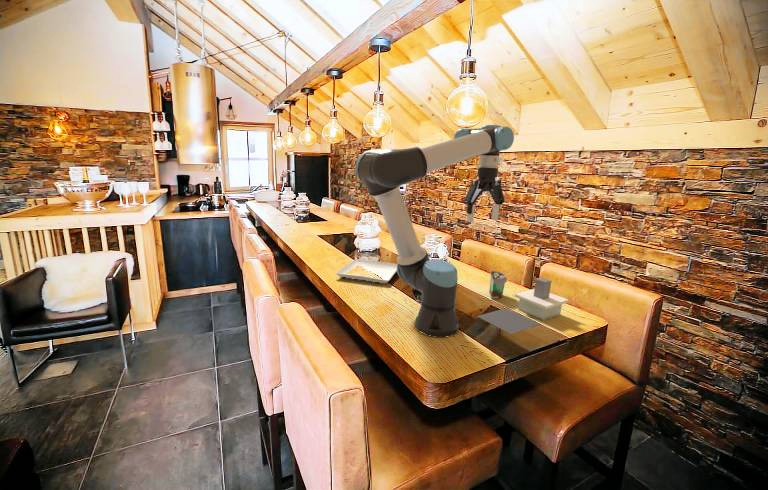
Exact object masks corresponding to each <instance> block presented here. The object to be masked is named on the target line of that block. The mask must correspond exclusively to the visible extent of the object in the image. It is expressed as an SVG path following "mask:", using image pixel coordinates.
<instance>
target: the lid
mask: <svg viewBox="0 0 768 490" xmlns="http://www.w3.org/2000/svg"><path fill="white" fill-rule="evenodd" d="M534 282H535V284H534V288H533V289H529V290H526V291H525V290H523V291H521V292H518V293H515V294H514V297H515V298H517V299H519V300H520V299H522V300H525V301H527V302H529V303H532V304H534V305H537V306H539V307H542V308H544V309H549V308H552V307H555V306H558V305H561V304H562V305H564V304H567V303H569V299H567V298H565V297H562V296H559V295H557V294H555V293H554V294H553V293H551V288H552V287H551V285H552V280H551V279H547V278H545V277H539V278H535V281H534Z"/></svg>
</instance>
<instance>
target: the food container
mask: <svg viewBox="0 0 768 490" xmlns="http://www.w3.org/2000/svg"><path fill="white" fill-rule="evenodd" d="M507 281H508V279H507V275H506V274H505V273H504V272H500V271H496V270H491V271H490V281H489V294H490V299H491V300H499V299H500V300H501V299H502V298H503V294H504V289H505V284H506V283H507Z"/></svg>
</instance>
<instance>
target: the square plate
mask: <svg viewBox="0 0 768 490" xmlns="http://www.w3.org/2000/svg"><path fill="white" fill-rule="evenodd" d="M357 265H361V266H363V268H365V269H367V270H368V271H371V272H372V273H374V274H376V275H378V276H379V277H381V278H382V279H383V280H382V279H377V278H372V277H366V276H358V275H348V274H346V273H347V272H349V271H350V270H352V269H353V268H355V267H356V266H357ZM397 265H398V263H394V262H389V261H387V262H385V261H379V260H372V259H371V260H370V259H369V260H368V259H359V258H355V259H353V260H352V261H350V262H349V263H348V264H346V265H344V266H343V267H342V268H340V269H339V270H338V271H337V272H335V274H336V276H338V277H339V278H342V277H346V278H345V279H348V278H354V279H360V280H367V281H366V282H368V281H373V282H372V283H375V282H380V283H379V284H387V283H388V282H390V280H391V279H392V278H393V276H394V275H395V274H396V273H397ZM360 280H359V281H360Z"/></svg>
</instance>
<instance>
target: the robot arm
mask: <svg viewBox="0 0 768 490" xmlns="http://www.w3.org/2000/svg"><path fill="white" fill-rule="evenodd" d="M514 140H515V135H514V131H513V129H512V128H511V127H510V126H501V125H498V124H485V125H482V126H481V127H479V128H467V127H465V128H459V129H457V130H456V131H455V133H454V136H453V139H449V140H446V141H442V142H439V143H436V144H433V145H432V144H431V145H428V146H426V147H422V148H421V147H420V146H413V147H410V148H399V149H397V148H393V149H392V148H387V149H379V148H372V149H369V150H366V151H364V152H363V153H361V154H360V155H359V157H358V158H357V160H356V162H355V167H354V169H355V175H356V176H357V179H358V180H359V181H360V182H361V183H362V184H364V185H365V187H366V190H367V192H368V194H369V196H370V197H372V198H374V199H375V201H376V202H377V204H378V207H379V210H380V212H381V215H382V217H383V220H384V222H385V225H386V227H387V230H388V232H389V234H390V237H391V239H392V240H391V241H392V242H393V244H394V247H395V249H396V252H397V254H398V256H397V257H396V264H398V265H397V272H396V273H397V275H398V277H399V278H400V280H401V281H402V282H403V283H404V284H406V285H408V286H410V287H412V288H413V289H415V290H416V291H418V292H420V293H421V304H420V307H419V311H418V313H417V315H416V317H415V321H414V327H415V326H416V327H415V329H416V328H417V329H418V330H419V331H421V332H423V333H425V334H427V335H426V336H428V335H431V336H430V337H432V336H436V337H435V338H447V337H446V336H449V337H452V336H455V335H456V334H457V333H458V331H459V321H458V317H457V314H456V313H457V312H456V299H457V286H458V279H459V278H458V269H457V267H456V266H455V265H454V264H453V263H451V262H448V261H446V260H444V261H443V260H442V259H430V256H429V254H428V252H427V249H426V248H425V247H423V246H421V244H420V242H419V239H418V236H417V234H416V232H415V228H414V226H413V223H412V220H411V218H410V215H409V212H408V209H407V207H406V204H405V201H404V198H403V195H402V193H401V190H400V188H401V186H403V185H406V184H409V183H412V182H415V181H417V180H421V179H423V178H425V177H426V176H427V174H428V173H430V172H434V171H437V170H440V169H443V168H446V167H449V166H452V165H455V164H458V163H461V162H464V161H468V160H470V159H472V158H475V157H478V168H477V173H476V174H477V178H478V179H471V183H470V187H469V189H468V191H467V193H466V196H465V198H464V200H463V204H465V205H466V207H467V209H466V214H467V218H466V221H467V223H471V224H473V223H474V218H475V210H476V206H475V205H474V204H475V203H476V202H477V201H478V199H479V198H480V196H481V195H482V194H483V193H484V192H488V193H489V194H490V196H491V198H492V200H493V202H494V203H493V204H492V211H491V221H496V222H497V221H499V215H500V214H499V213H500V211H501V210H500V209H501V205H503V204H504V203H505V196H504V192H503V187H502V179H497V178H498V171H499V169H498V168H497V167H498V166H499V161H500V153H501V152H502V151H506V150H508V149H510V148H511V147H512V145H513V144H514ZM500 151H501V152H500ZM417 329H416V330H417ZM418 330H417V331H418ZM419 331H418V332H419ZM421 332H420V333H421ZM425 334H424V335H425ZM451 335H452V336H451Z"/></svg>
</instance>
